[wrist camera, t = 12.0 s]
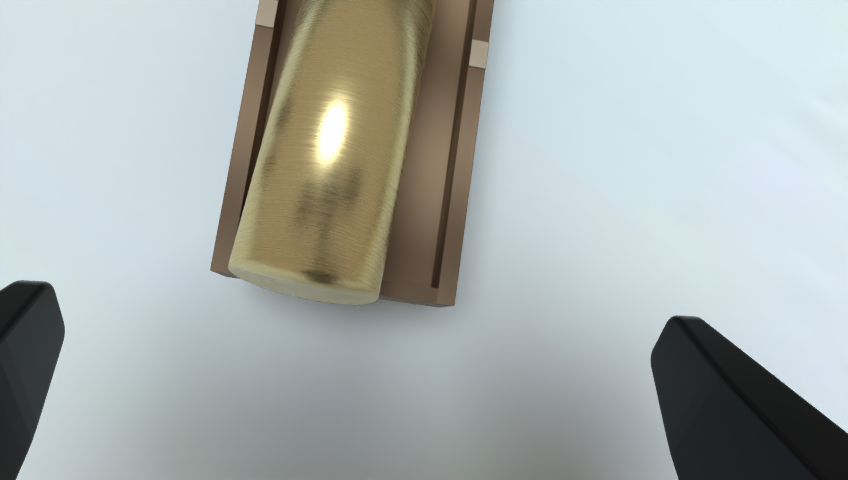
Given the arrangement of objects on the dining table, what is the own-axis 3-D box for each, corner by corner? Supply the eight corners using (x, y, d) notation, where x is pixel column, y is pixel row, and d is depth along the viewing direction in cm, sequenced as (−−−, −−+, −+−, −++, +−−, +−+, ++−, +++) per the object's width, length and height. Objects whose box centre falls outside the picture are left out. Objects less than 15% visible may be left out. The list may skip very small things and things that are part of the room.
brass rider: (380, 6, 21) (311, 305, 18) (294, -69, 18) (197, 264, 15) (469, -33, 18) (409, 304, 15) (386, -125, 16) (293, 255, 13)
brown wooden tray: (438, 307, 20) (454, 305, 17) (226, 276, 19) (209, 270, 17) (493, -109, 22) (516, -169, 20) (304, -152, 21) (300, -221, 19)
